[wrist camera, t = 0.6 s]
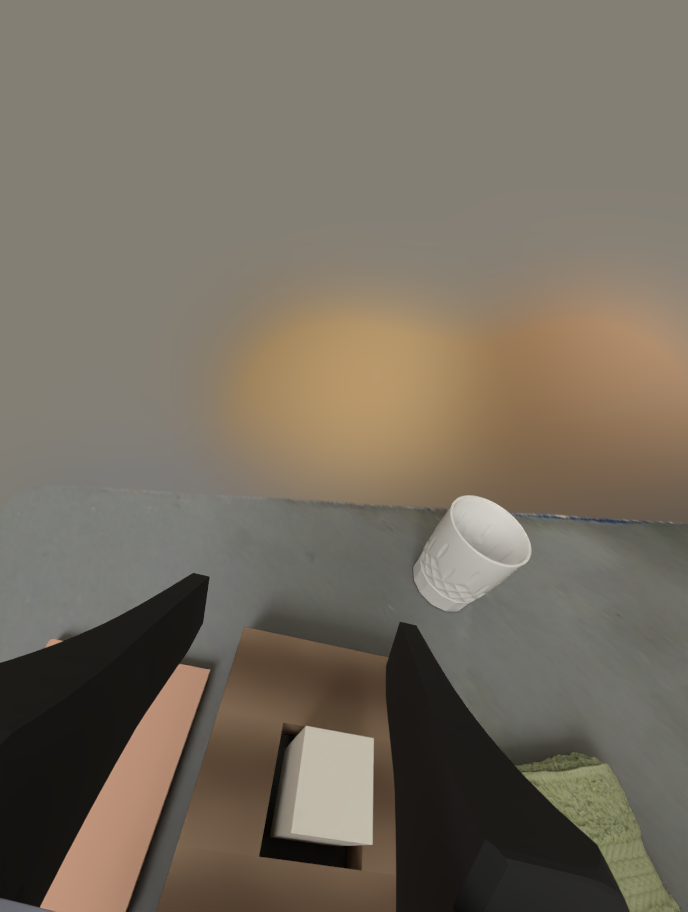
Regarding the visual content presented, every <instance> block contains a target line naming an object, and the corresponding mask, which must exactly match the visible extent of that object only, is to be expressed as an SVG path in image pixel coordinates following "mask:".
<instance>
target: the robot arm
mask: <svg viewBox="0 0 688 912" xmlns="http://www.w3.org/2000/svg"><path fill="white" fill-rule="evenodd" d="M208 584H209V577H208V576H204V575H200V574H196V573H193V574H191V575H189V576H188V577H186V578H184V579H182V580H181V581H179V582H178V583H176V584H174V585H173V586H171V587H169V588H168V589H166V590H164V591H163V592H161V593H159V594H158V595H156V596H154V597H153V598H151V599H149V600H147V601H146V602H144V603H142V604H141V605H139V606H137V607H135V608H133V609H131V610H129V611H128V612H126V613H124V614H122V615H120V616H118V617H116V618H114V619H112V620H110V621H108V622H106V623H104V624H102V625H100V626H98V627H95V628H93V629H91V630H89V631H86V632H84V633H82V634H80V635H77V636H75V637H72V638H70V639H67V640H65V641H62V642H59V643H57V644H54V645H51V646H49V647H46V648H44V649H41V650H38V651H36V652H33V653H30V654H27V655H24V656H21V657H18V658H15V659H12V660H8V661H5V662H2V663H0V912H56V911H52V910H47V909H43V908H40V906H41V904H42V902H43V900H44V898H45V896H46V894H47V892H48V890H49V888H50V886H51V884H52V882H53V881H54V879H55V877H56V875H57V873H58V871H59V869H60V867H61V865H62V863H63V861H64V859H65V857H66V855H67V853H68V851H69V850H70V848H71V846H72V844H73V842H74V840H75V838H76V836H77V834H78V833H79V831H80V829H81V827H82V825H83V823H84V821H85V819H86V818H87V816H88V814H89V812H90V810H91V808H92V806H93V804H94V803H95V801H96V799H97V797H98V795H99V793H100V792H101V790H102V788H103V786H104V784H105V783H106V781H107V779H108V777H109V775H110V774H111V772H112V770H113V768H114V766H115V764H116V763H117V761H118V759H119V757H120V756H121V754H122V752H123V750H124V749H125V747H126V745H127V743H128V742H129V740H130V738H131V736H132V735H133V733H134V731H135V729H136V728H137V726H138V725H139V723H140V721H141V720H142V718H143V717H144V715H145V713H146V712H147V711H148V709H149V708H150V706H151V705H152V703H153V702H154V700H155V699H156V697H157V696H158V694H159V693H160V691H161V690H162V689H163V687H164V686H165V684H166V683H167V681H168V680H169V678H170V677H171V675H172V674H173V672H174V671H175V669H176V668H177V667H178V665H179V664H180V662H181V661H182V659H183V658H184V656H185V655H186V653H187V652H188V650H189V648H190V646H191V645H192V643H193V641H194V639H195V637H196V635H197V633H198V631H199V629H200V627H201V626H202V624H203V619H204V612H205V605H206V598H207V591H208ZM386 705H387V715H388V725H389V735H390V744H391V754H392V764H393V774H394V788H395V827H396V912H630V910H629V908H628V905H627V903H626V901H625V899H624V896H623V894H622V892H621V890H620V888H619V886H618V884H617V882H616V880H615V878H614V876H613V874H612V872H611V870H610V868H609V866H608V864H607V862H606V860H605V858H604V856H603V854H602V853H601V851H600V849H599V847H598V845H597V844H596V843H595V842H594V841H592V840H591V839H590V838H589V837H588V836H587V835H586V834H585V833H584V832H582V831H581V830H580V829H579V828H578V827H577V826H576V825H575V824H574V823H573V822H571V821H570V820H569V819H568V818H567V817H566V816H565V815H564V814H563V813H561V812H560V811H559V810H558V809H557V808H556V807H555V806H554V805H553V804H552V803H551V802H550V801H549V800H548V799H547V798H546V797H545V796H544V795H543V794H542V793H541V792H540V791H539V790H538V789H537V788H536V787H535V786H534V785H533V784H532V783H531V782H530V781H529V780H528V779H527V778H526V777H525V776H524V775H523V774H522V773H521V772H520V771H519V770H518V769H517V767H516V766H515V765H514V764H513V763H512V762H511V761H510V760H509V759H508V757H507V756H506V755H505V754H504V753H503V752H502V751H501V750H500V748H499V747H498V746H497V745H496V744H495V743H494V741H493V740H492V739H491V738H490V737H489V735H488V734H487V733H486V732H485V730H484V729H483V728H482V726H481V725H480V724H479V723H478V721H477V720H476V719H475V718H474V716H473V715H472V714H471V712H470V711H469V710H468V708H467V707H466V705H465V704H464V703H463V701H462V700H461V698H460V697H459V695H458V694H457V692H456V691H455V690H454V688H453V687H452V685H451V683H450V682H449V680H448V679H447V677H446V676H445V674H444V672H443V671H442V669H441V667H440V666H439V664H438V662H437V661H436V659H435V657H434V656H433V654H432V652H431V650H430V649H429V647H428V645H427V643H426V642H425V640H424V638H423V636H422V635H421V633H420V631H419V629H418V628H417V626H416V625H411V624H407V623H403V622H400V623H399V627H398V630H397V633H396V636H395V639H394V642H393V646H392V649H391V652H390V655H389V658H388V661H387V664H386Z"/></svg>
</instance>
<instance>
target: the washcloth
mask: <svg viewBox="0 0 688 912" xmlns="http://www.w3.org/2000/svg"><path fill="white" fill-rule="evenodd" d="M515 766H516V767H517V769H518V770H519V771H520V772H521V773H522V774H523V775H524V776H525V777H526V778H527V779H528V780H529V781H530V782H531V783H532V784H533V785H534V786H535V787H536V788H537V789H538V790H539V791H540V792H541V793H542V794H543V795H544V796H545V797H546V798H547V799H548V800H549V801H550V802H551V803H552V804H553V805H554V806H555V807H556V808H557V809H558V810H559V811H560V812H561V813H563V814H564V815H565V816H566V817H567V818H568V819H569V820H570V821H571V822H573V823H574V824H575V825H576V826H577V827H578V828H579V829H580V830H581V831H582V832H584V833H585V834H586V835H587V836H588V837H589V838H590V839H591V840H592V841H594V842H595V843H596V844H597V845H598V847H599V849H600V851H601V853H602V854H603V856H604V858H605V860H606V862H607V864H608V866H609V868H610V870H611V872H612V874H613V876H614V878H615V880H616V882H617V884H618V886H619V888H620V890H621V892H622V894H623V896H624V899H625V901H626V903H627V905H628V908H629V910H630V912H680V908H679V906H678V905H677V903H676V901H675V900H674V898H673V897H672V896H671V895H669V894H668V893H667V891H666V890H665V888H664V887H663V885H662V882H661V880H660V878H659V876H658V873H657V872H656V870H655V869H654V866H653V864H652V862H651V860H650V858H649V856H648V855H647V853H646V850H645V848H644V845H643V843H642V840H641V838H640V836H641V830H640V827H639V825H638V823H637V822H636V820H635V815H634V814H633V811H632V810H631V808H630V806H629V804H628V802H627V798H626V795H625V793H624V790H623V789H622V787H621V786H620V784H619V783H618V779H617V777H616V775H615V774H614V773H613V772H612V770H611V768H610V766H609V765H608V764H606V763H605V764H603V763H602V762H600V760H599V759H597V758H596V757H588V756H587V755H584V754H581V753H578V752H571V754H570V755H567V754H566V755H564V754H563V755H560V754H559V753H558V755H557V756H553V758H549V757H548V758H547V759H545V760H544V761H541V762H533V763H532V764H530V763H529V764H522V766H520V765H519V766H518V765H515Z"/></svg>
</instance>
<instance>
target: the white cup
mask: <svg viewBox="0 0 688 912" xmlns="http://www.w3.org/2000/svg"><path fill="white" fill-rule="evenodd" d="M530 556H531V544H530V540H529V538H528V536H527V534H526V532H525V530H524V529H523V527H522V526H521V525H520V523H519V522H518V521H517V520H516V519H515V518H514V517H513V516H512V515H511V514H510V513H509V512H507V511H506V510H505V509H503V508H502V507H501V506H499V505H497V504H496V503H494V502H492V501H490V500H487V499H485V498H482V497H478V496H472V495H468V496H467V495H466V496H461V497H459V498H457V499H456V500H454V502H453V503H452V504H451V506H450V507H449V509H448V511H447V512H446V514H445V515H444V517H443V518H442V520H441V521H440V523H439V524H438V526H437V527H436V529H435V530H434V532H433V534H432V535H431V537H430V538H429V540H428V542H427V543H426V545H425V546H424V548H423V552H422V553H421V555H420V556H419V557H418V559H417V561H416V563H415V565H414V567H413V574H414V581H415V584H416V586H417V588H418V590H419V592H420V594H421V595H422V596H423V597H424V598H425V599H426V600H427V601H428V602H429V603H430V604H431V605H433V606H435V607H437V608H439V609H441V610H444V611H455V612H458V611H460V610H461V609H463V608H464V607H466V606H467V605H469V604H470V603H471V602H472V601H474V600H476V599H479V598H480V597H481V596H483V595H484V594H486V593H487V592H489V591H490V590H491V589H492V588H494V587H496V586H497V585H498V584H499V583H501V582H502V581H503V580H505V579H506V578H507V577H508V576H510V575H511V574H512V573H514V572H515V571H516V570H518V569H519V568H520V567H522V566H523V565H524V564H525V563H527V562H528V560H529V559H530Z"/></svg>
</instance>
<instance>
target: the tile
mask: <svg viewBox="0 0 688 912" xmlns="http://www.w3.org/2000/svg"><path fill="white" fill-rule="evenodd" d="M59 642H62V641H61V640H56V639H51V640H50V641H49V643H48V644H47V645H46V647H49V646H51V645H54V644H57V643H59ZM46 647H45V648H46ZM209 675H210V670H209V669H204V668H198V667H193V666H188V665H183V664H179V665H178V667H177V668H176V669H175V671H174V672H173V674H172V675H171V677H170V678H169V680H168V681H167V683H166V684H165V686H164V687H163V689H162V690H161V691H160V693H159V694H158V696H157V697H156V699H155V700H154V702H153V703H152V705H151V706H150V708H149V709H148V711H147V712H146V713H145V715H144V717H143V718H142V720H141V721H140V723H139V725H138V726H137V728H136V729H135V731H134V733H133V735H132V736H131V738H130V740H129V742H128V743H127V745H126V747H125V749H124V750H123V752H122V754H121V756H120V757H119V759H118V761H117V763H116V764H115V766H114V768H113V770H112V772H111V774H110V775H109V777H108V779H107V781H106V783H105V784H104V786H103V788H102V790H101V792H100V793H99V795H98V797H97V799H96V801H95V803H94V804H93V806H92V808H91V810H90V812H89V814H88V816H87V818H86V819H85V821H84V823H83V825H82V827H81V829H80V831H79V833H78V834H77V836H76V838H75V840H74V842H73V844H72V846H71V848H70V850H69V851H68V853H67V855H66V857H65V859H64V861H63V863H62V865H61V867H60V869H59V871H58V873H57V875H56V877H55V879H54V881H53V882H52V884H51V886H50V888H49V890H48V892H47V894H46V896H45V898H44V900H43V902H42V904H41V906H40V908H43V909H47V910H52V911H56V912H127V910H128V907H129V904H130V901H131V898H132V896H133V893H134V890H135V887H136V884H137V881H138V878H139V875H140V873H141V870H142V867H143V864H144V861H145V858H146V855H147V853H148V850H149V847H150V844H151V841H152V838H153V835H154V832H155V830H156V827H157V824H158V821H159V818H160V815H161V812H162V809H163V807H164V804H165V801H166V798H167V795H168V792H169V789H170V787H171V784H172V781H173V778H174V775H175V772H176V769H177V766H178V764H179V761H180V758H181V755H182V752H183V749H184V746H185V744H186V741H187V738H188V735H189V732H190V729H191V726H192V723H193V721H194V718H195V715H196V712H197V709H198V706H199V703H200V700H201V698H202V695H203V692H204V689H205V686H206V683H207V680H208V678H209Z"/></svg>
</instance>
